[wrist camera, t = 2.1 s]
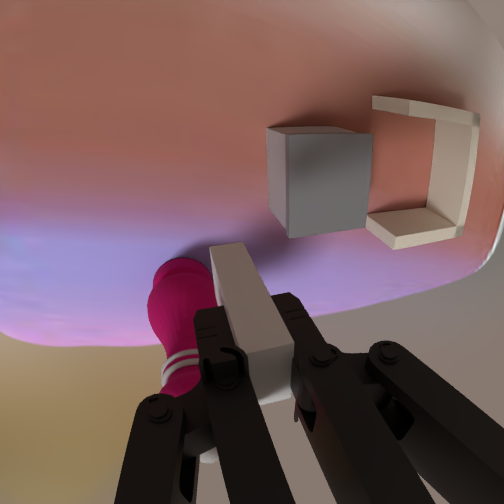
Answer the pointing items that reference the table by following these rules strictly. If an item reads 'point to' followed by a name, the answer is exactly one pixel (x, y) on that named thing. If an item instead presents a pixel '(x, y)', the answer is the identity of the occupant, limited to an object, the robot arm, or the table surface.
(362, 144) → the rounded grey cube
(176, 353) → the pepper mill
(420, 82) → the table surface
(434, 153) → the bay
